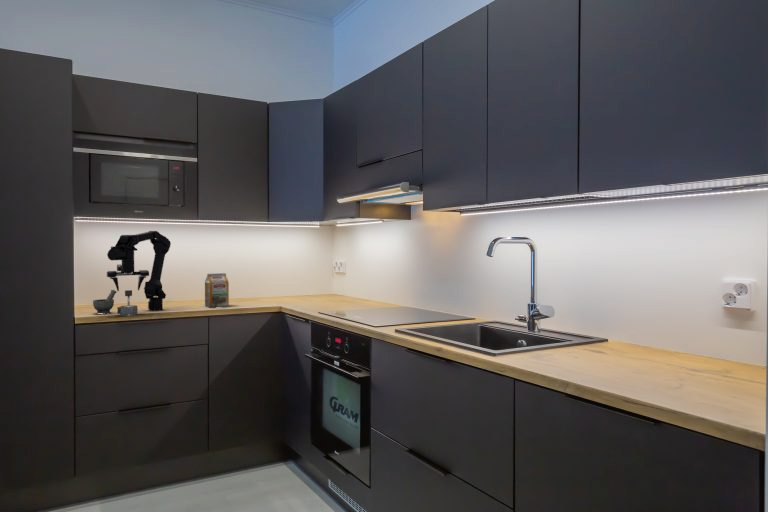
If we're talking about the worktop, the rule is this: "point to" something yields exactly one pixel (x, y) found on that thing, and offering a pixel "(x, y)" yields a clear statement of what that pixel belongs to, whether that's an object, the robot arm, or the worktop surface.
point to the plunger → (128, 293)
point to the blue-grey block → (127, 310)
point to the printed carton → (216, 290)
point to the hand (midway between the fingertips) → (128, 290)
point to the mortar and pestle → (104, 303)
